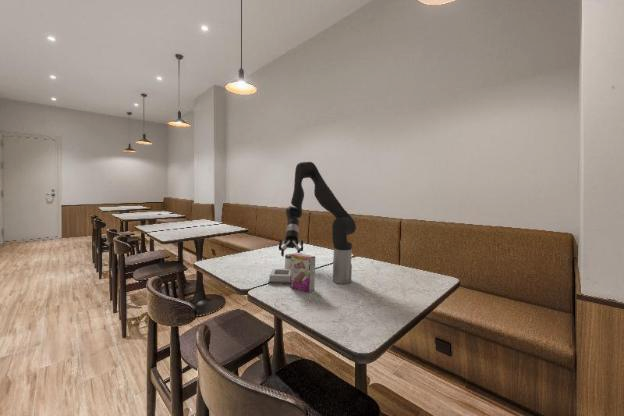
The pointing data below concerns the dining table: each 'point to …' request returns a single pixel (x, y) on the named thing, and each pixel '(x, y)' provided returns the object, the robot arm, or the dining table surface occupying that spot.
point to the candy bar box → (302, 272)
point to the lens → (288, 261)
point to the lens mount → (280, 276)
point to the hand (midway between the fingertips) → (290, 256)
